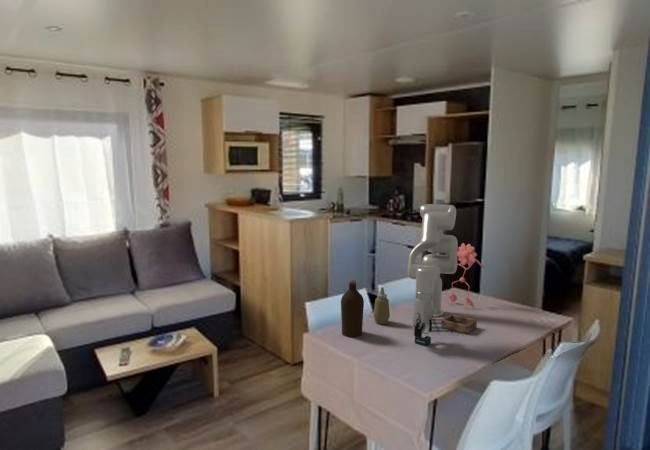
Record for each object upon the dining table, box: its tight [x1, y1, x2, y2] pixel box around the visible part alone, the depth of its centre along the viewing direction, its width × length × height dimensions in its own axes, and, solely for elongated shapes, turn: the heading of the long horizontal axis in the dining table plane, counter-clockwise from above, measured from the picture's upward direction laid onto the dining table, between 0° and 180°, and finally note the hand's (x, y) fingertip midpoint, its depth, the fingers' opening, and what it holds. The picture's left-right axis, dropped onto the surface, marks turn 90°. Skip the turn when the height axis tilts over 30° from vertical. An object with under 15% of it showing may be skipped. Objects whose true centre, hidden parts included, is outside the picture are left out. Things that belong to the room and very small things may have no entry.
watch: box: [414, 320, 432, 348], centre depth 197 cm, size 6×8×11 cm
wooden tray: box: [441, 314, 478, 336], centre depth 216 cm, size 13×11×4 cm
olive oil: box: [340, 280, 365, 338], centre depth 208 cm, size 11×11×25 cm
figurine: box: [444, 242, 486, 310], centre depth 250 cm, size 15×26×35 cm, turn 38°
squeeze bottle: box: [373, 286, 391, 325], centre depth 222 cm, size 8×8×18 cm
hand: (423, 333), depth 197 cm, fingers open, 9 cm apart
